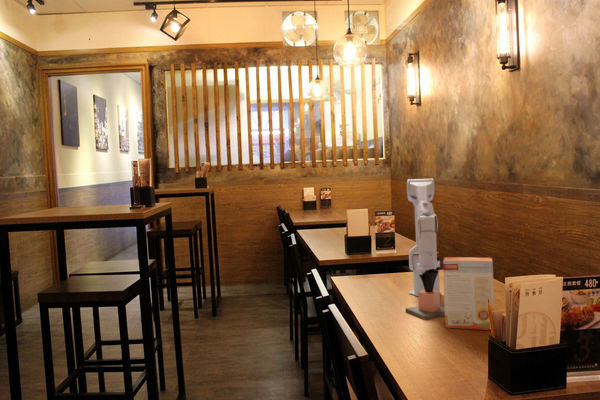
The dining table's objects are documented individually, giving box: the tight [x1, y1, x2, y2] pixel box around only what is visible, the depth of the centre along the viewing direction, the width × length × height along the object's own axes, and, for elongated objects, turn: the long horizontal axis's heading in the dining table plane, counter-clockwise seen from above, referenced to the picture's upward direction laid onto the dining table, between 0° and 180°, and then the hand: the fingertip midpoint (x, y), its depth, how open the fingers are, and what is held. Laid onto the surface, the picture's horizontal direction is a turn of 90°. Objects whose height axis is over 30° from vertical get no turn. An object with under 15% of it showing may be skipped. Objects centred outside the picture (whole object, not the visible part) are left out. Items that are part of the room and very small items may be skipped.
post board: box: [405, 304, 445, 320], centre depth 160 cm, size 12×10×6 cm
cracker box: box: [442, 256, 495, 331], centre depth 145 cm, size 14×6×21 cm, turn 71°
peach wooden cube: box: [417, 289, 441, 312], centre depth 160 cm, size 5×5×6 cm
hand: (428, 291), depth 160 cm, fingers closed, pressing on peach wooden cube
